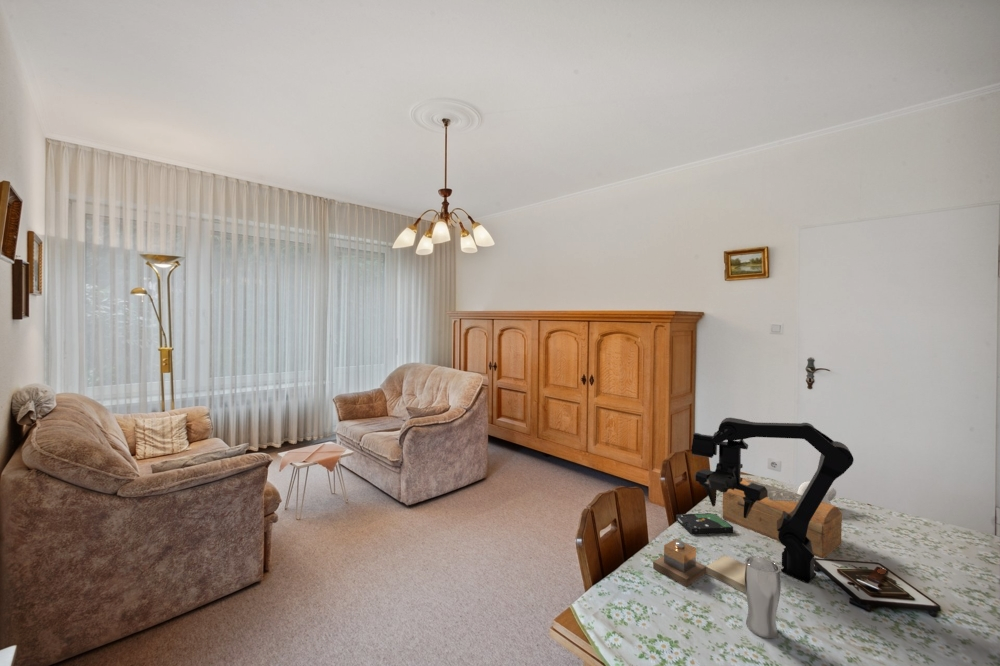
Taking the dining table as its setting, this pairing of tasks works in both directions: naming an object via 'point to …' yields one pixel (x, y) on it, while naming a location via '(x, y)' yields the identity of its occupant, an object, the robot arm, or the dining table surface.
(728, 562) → the stand
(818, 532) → the wooden box
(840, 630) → the dining table surface
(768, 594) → the beer glass
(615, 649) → the dining table surface
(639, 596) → the dining table surface
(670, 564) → the block
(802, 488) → the white knot sculpture
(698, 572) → the stand
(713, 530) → the disk drive
